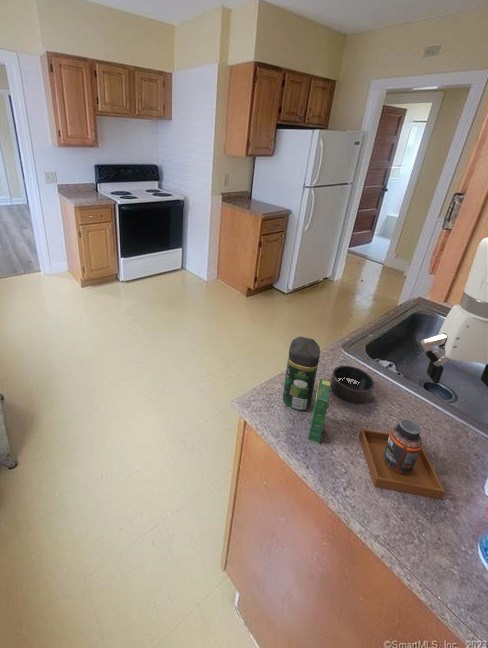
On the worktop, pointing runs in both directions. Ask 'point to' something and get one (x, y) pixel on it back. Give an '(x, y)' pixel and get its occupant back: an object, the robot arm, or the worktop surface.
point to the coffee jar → (301, 373)
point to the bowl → (352, 385)
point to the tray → (384, 477)
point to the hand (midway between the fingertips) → (459, 381)
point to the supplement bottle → (403, 447)
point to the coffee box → (319, 410)
